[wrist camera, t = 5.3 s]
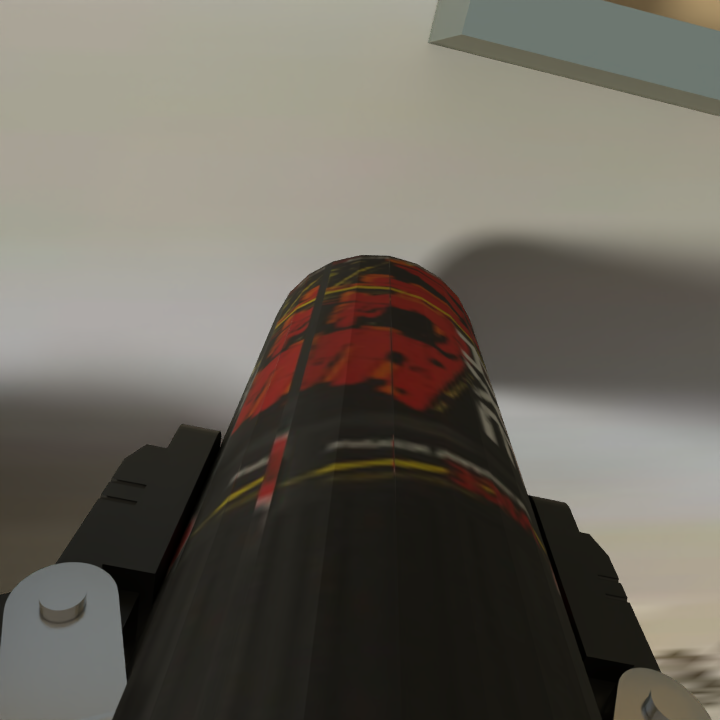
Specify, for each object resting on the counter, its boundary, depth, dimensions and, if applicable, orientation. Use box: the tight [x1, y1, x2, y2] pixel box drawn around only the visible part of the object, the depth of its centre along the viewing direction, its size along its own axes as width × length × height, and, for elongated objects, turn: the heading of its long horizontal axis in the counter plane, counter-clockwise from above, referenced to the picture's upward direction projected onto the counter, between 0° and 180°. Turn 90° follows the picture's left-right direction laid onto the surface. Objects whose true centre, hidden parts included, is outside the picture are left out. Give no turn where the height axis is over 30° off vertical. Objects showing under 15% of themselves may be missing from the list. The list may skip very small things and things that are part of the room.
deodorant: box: [112, 255, 602, 720], centre depth 11 cm, size 6×6×15 cm
